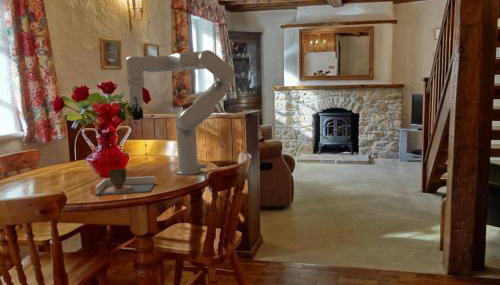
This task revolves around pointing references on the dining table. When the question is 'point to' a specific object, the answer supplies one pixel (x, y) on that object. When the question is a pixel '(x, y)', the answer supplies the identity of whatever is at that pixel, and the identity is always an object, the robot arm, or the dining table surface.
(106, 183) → the corner walls
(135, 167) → the dining table surface
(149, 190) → the mat
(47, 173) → the dining table surface
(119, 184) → the cup
